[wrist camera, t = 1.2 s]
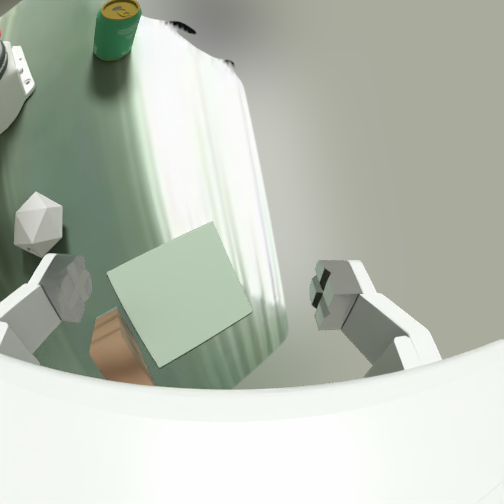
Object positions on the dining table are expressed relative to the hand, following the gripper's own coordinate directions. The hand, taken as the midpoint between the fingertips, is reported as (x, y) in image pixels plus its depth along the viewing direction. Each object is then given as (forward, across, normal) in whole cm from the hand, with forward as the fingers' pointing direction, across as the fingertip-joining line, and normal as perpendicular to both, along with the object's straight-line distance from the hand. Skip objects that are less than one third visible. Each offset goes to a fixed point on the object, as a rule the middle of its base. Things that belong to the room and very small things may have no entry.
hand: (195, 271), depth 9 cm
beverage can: (+50, +23, -11) cm, 56 cm away
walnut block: (+17, +16, +30) cm, 38 cm away
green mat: (+24, +6, +28) cm, 38 cm away
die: (+24, +28, +15) cm, 40 cm away
